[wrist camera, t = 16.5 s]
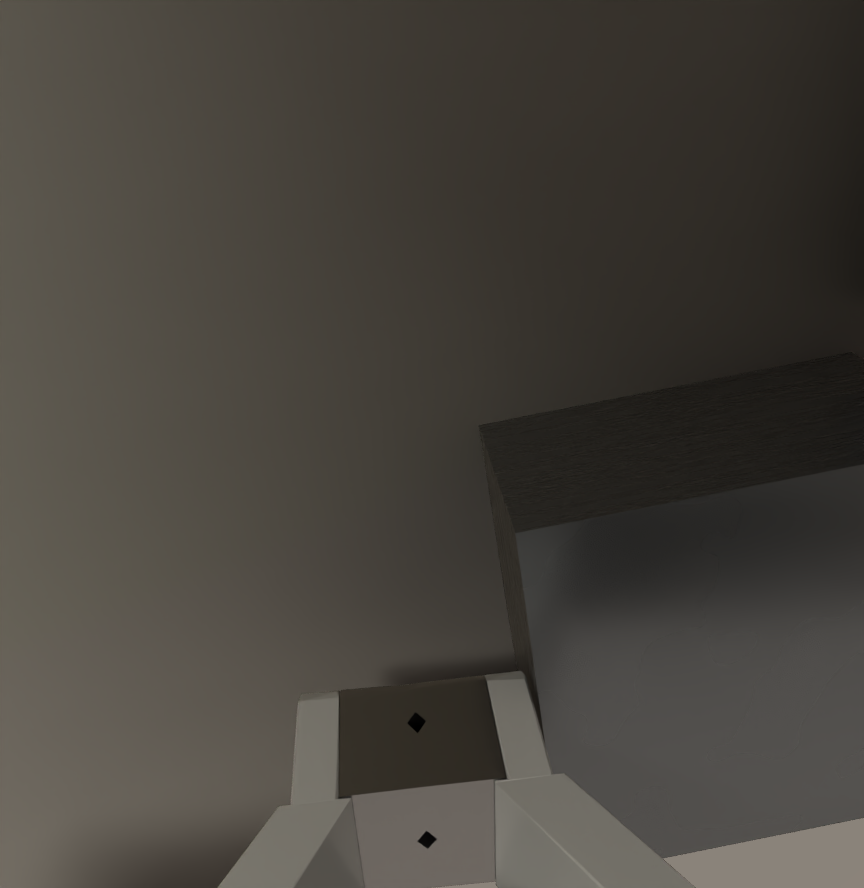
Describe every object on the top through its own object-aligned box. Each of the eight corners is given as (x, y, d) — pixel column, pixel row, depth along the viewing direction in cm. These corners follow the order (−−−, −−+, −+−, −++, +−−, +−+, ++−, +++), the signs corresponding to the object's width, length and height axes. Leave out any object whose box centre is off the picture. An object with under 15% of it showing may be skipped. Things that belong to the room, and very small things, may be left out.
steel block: (478, 424, 10) (515, 533, 8) (850, 351, 10) (988, 439, 8) (526, 735, 13) (564, 877, 11) (817, 677, 13) (912, 807, 11)
